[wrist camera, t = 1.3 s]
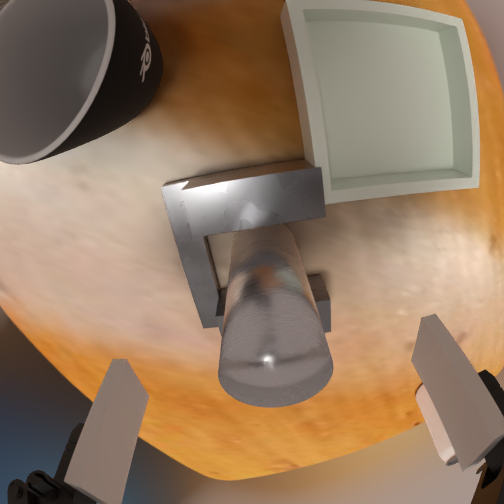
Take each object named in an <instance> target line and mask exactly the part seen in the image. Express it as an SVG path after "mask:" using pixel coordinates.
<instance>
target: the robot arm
mask: <svg viewBox="0 0 504 504" xmlns="http://www.w3.org/2000/svg"><path fill="white" fill-rule="evenodd" d="M411 361H412V363H413V365H414V367H415V369H416V371H417V372H418V374H419V376H420V378H421V380H422V382H423V384H424V386H425V388H426V390H427V392H428V394H429V396H430V398H431V400H432V402H433V405H434V407H435V409H436V411H437V413H438V415H439V417H440V419H441V422H442V424H443V426H444V428H445V431H446V433H447V435H448V437H449V440H450V442H451V444H452V447H453V449H454V451H455V454H456V456H457V459H458V461H459V464H460V466H461V469H462V471H465V470H467V469H469V468H471V467H473V466H475V465H476V464H478V463H479V462H480V461H481V460H482V459H483V458H485V460H486V462H485V463H484V464H483V465H482V466H481V467H480V468H479V469H478V470H477V472H476V474H478V473H480V472H481V471H482V473H481V477H480V480H479V483H478V485H477V488H476V491H475V494H474V496H473V499H472V502H471V504H504V391H503V389H502V388H501V387H500V384H499V383H498V381H497V380H496V378H495V377H494V376H493V375H492V374H491V373H489V372H488V371H487V370H483V371H481V372H479V373H477V372H476V370H475V369H474V367H473V366H472V364H471V363H470V361H469V360H468V358H467V357H466V355H465V354H464V352H463V351H462V350H461V348H460V347H459V345H458V344H457V342H456V341H455V340H454V338H453V337H452V335H451V334H450V333H449V331H448V330H447V329H446V327H445V326H444V324H443V323H442V322H441V320H440V319H439V318H438V316H437V315H436V314H433V315H429V316H426V317H422V318H421V322H420V327H419V331H418V336H417V340H416V344H415V348H414V352H413V356H412V360H411ZM148 398H149V395H148V393H147V392H146V390H145V389H144V387H143V385H142V384H141V382H140V381H139V379H138V377H137V376H136V374H135V373H134V371H133V369H132V368H131V366H130V364H129V362H128V361H127V359H113V360H112V362H111V364H110V367H109V369H108V371H107V373H106V375H105V378H104V380H103V382H102V384H101V387H100V389H99V391H98V393H97V396H96V398H95V400H94V403H93V405H92V407H91V410H90V412H89V415H88V417H87V420H86V422H85V424H82V423H79V424H78V425H77V426H76V427H75V429H74V430H73V431H72V433H71V435H70V438H69V440H68V443H67V445H66V448H65V449H66V450H65V451H64V453H63V455H62V458H61V461H60V464H59V466H58V469H57V472H56V474H55V477H54V479H53V478H51V477H50V476H49V475H47V474H46V473H45V472H43V471H40V470H36V471H33V472H32V473H30V475H29V476H28V477H27V480H26V483H24V482H23V481H21V480H19V479H16V480H13V481H12V482H11V483H10V484H9V486H8V504H96V503H99V504H121V502H122V498H123V493H124V489H125V485H126V481H127V477H128V472H129V468H130V464H131V460H132V456H133V452H134V449H135V444H136V441H137V437H138V434H139V430H140V426H141V423H142V419H143V416H144V412H145V409H146V405H147V402H148Z"/></svg>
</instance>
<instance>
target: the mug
mask: <svg viewBox="0 0 504 504" xmlns="http://www.w3.org/2000/svg"><path fill="white" fill-rule="evenodd" d="M161 76H162V56H161V51H160V48H159V45H158V43H157V41H156V39H155V36H154V35H153V33H152V31H151V30H150V28H149V27H148V25H147V24H146V22H145V21H144V20H143V18H142V17H141V16H140V15H139V13H138V12H137V11H136V10H135V9H134V8H133V6H132V5H131V4H130V3H129V2H128V1H127V0H10V1H9V2H8V3H7V4H6V5H5V6H4V7H3V9H2V10H1V11H0V161H2V162H5V163H9V164H17V165H19V164H28V163H33V162H37V161H40V160H43V159H46V158H49V157H52V156H55V155H58V154H60V153H63V152H66V151H68V150H71V149H73V148H76V147H78V146H81V145H83V144H85V143H88V142H90V141H92V140H95V139H97V138H99V137H101V136H104V135H106V134H108V133H110V132H112V131H114V130H116V129H118V128H119V127H121V126H123V125H124V124H126V123H128V122H129V121H131V120H132V119H133V118H135V117H136V116H137V115H138V114H139V113H141V112H142V111H143V110H144V109H145V108H146V106H147V105H148V104H149V103H150V101H151V100H152V98H153V97H154V95H155V93H156V91H157V89H158V87H159V84H160V81H161Z"/></svg>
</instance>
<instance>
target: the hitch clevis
mask: <svg viewBox="0 0 504 504" xmlns="http://www.w3.org/2000/svg"><path fill="white" fill-rule="evenodd" d="M161 190H162V194H163V197H164V201H165V205H166V209H167V212H168V216H169V220H170V223H171V227H172V230H173V234H174V237H175V241H176V244H177V248H178V251H179V254H180V258H181V261H182V264H183V268H184V271H185V274H186V277H187V280H188V284H189V287H190V290H191V293H192V296H193V299H194V302H195V305H196V308H197V311H198V314H199V317H200V320H201V323H202V325H203V328H212V327H219V330H220V333H221V336H222V332H223V323H224V314H225V305H226V297H227V288H224V289H219V285H218V281H217V277H216V274H215V270H214V266H213V262H212V258H211V254H210V250H209V246H208V242H207V238H206V236H208V235H214V234H220V233H226V232H232V231H238V230H244V229H251V228H257V227H263V226H270V225H276V224H283V223H289V222H296V221H302V220H309V219H316V218H323V217H326V211H325V199H324V189H323V179H322V169H321V167H314V166H313V165H312V164H311V163H309V162H308V161H307V160H306V159H300V160H293V161H285V162H278V163H272V164H265V165H259V166H253V167H247V168H241V169H235V170H229V171H224V172H219V173H213V174H208V175H203V176H198V177H193V178H189V179H184V180H179V181H175V182H170V183H166V184H164V185H163V186H162V187H161ZM307 278H308V282H309V285H310V288H311V291H312V294H313V297H314V301H315V304H316V307H317V310H318V313H319V317H320V320H321V323H322V327H323V330H324V333H326V332H331V307H330V298H329V295H328V292H327V290H326V287H325V285H324V282H323V280H322V277H321V275H320V274H317V275H311V276H307Z"/></svg>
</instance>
